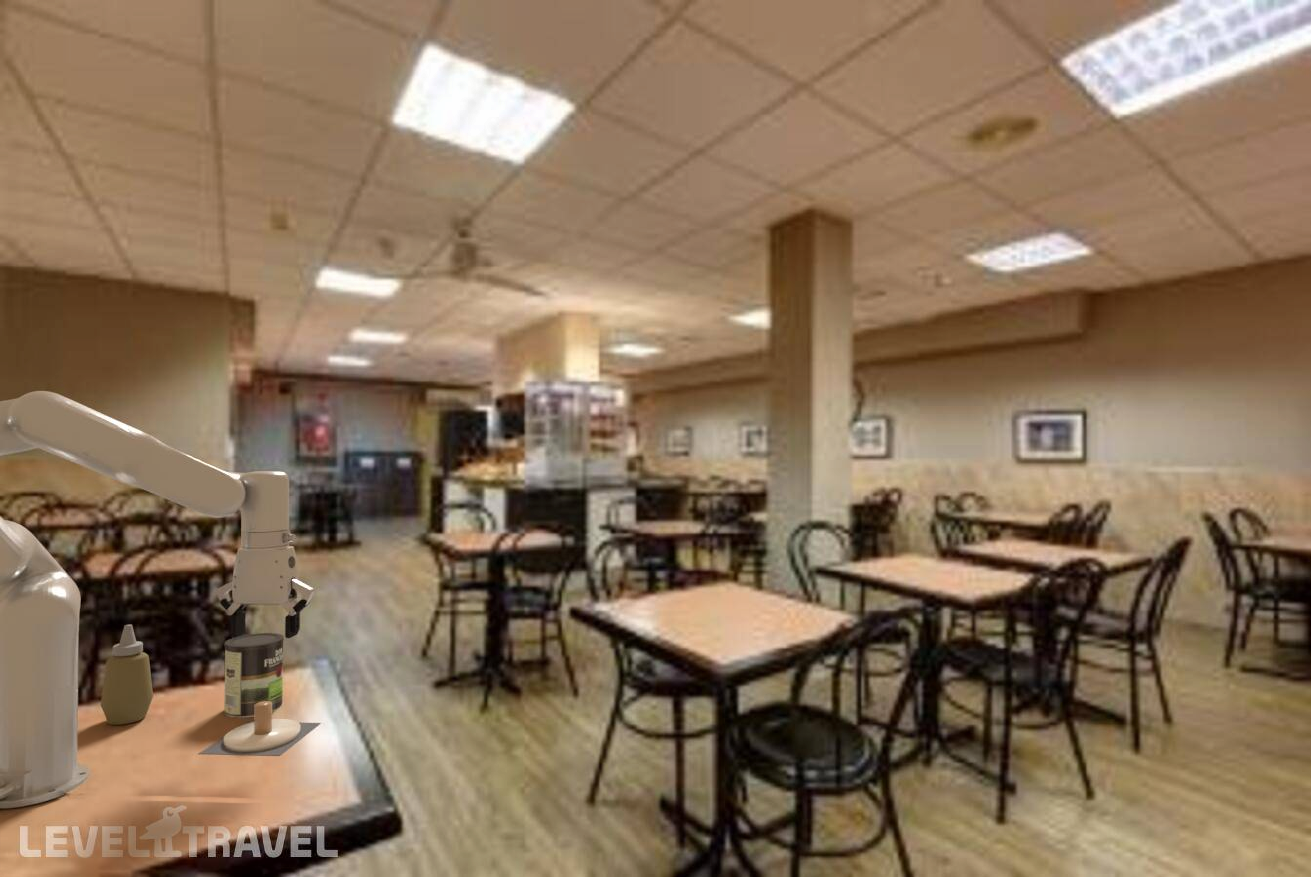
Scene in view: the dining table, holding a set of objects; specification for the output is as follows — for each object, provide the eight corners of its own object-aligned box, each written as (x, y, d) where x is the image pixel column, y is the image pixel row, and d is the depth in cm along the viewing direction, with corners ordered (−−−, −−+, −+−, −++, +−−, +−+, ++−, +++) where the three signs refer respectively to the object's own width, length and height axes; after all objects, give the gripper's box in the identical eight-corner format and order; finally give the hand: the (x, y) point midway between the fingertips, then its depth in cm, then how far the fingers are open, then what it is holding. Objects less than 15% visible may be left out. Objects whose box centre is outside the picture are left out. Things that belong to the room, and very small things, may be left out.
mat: (279, 759, 121) (279, 755, 121) (198, 757, 121) (198, 753, 121) (320, 726, 135) (321, 723, 135) (247, 724, 135) (247, 721, 135)
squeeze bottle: (160, 717, 138) (161, 624, 138) (111, 731, 132) (112, 633, 132) (141, 708, 143) (142, 618, 143) (92, 722, 136) (93, 626, 136)
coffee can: (293, 701, 148) (294, 632, 148) (264, 721, 137) (265, 647, 137) (243, 700, 148) (244, 632, 148) (211, 720, 137) (212, 646, 138)
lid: (277, 753, 122) (277, 717, 122) (208, 751, 122) (208, 716, 122) (313, 724, 134) (313, 692, 134) (249, 723, 134) (250, 691, 134)
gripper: (323, 537, 132) (323, 630, 132) (230, 537, 132) (230, 630, 133) (302, 543, 125) (302, 642, 125) (204, 543, 125) (203, 641, 125)
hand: (265, 636), depth 129 cm, fingers open, 9 cm apart
